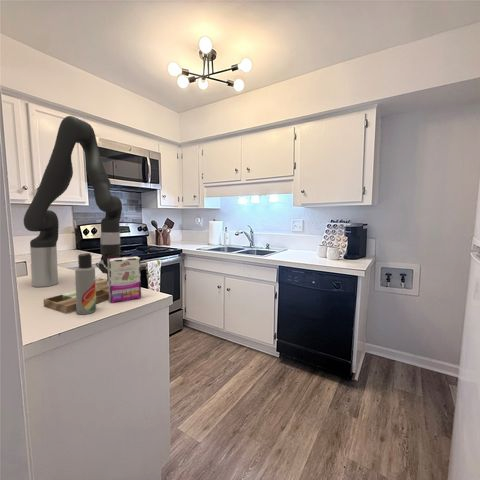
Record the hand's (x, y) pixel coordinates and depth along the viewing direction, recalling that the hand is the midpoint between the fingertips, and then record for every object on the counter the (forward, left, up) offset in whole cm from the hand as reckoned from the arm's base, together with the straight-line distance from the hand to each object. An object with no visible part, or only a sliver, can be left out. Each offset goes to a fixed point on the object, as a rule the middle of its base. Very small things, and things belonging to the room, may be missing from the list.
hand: (111, 282), depth 111 cm
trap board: (+3, -14, -3) cm, 15 cm away
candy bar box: (+15, -5, -4) cm, 16 cm away
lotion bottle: (+14, -21, -4) cm, 25 cm away
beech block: (0, -6, -1) cm, 6 cm away
